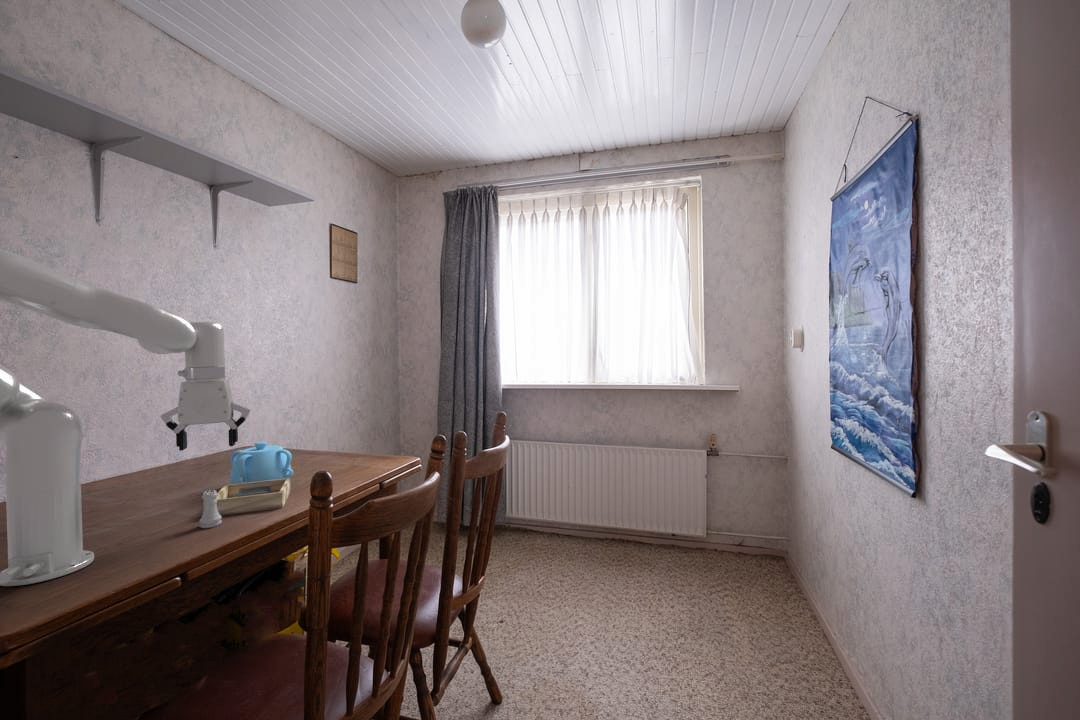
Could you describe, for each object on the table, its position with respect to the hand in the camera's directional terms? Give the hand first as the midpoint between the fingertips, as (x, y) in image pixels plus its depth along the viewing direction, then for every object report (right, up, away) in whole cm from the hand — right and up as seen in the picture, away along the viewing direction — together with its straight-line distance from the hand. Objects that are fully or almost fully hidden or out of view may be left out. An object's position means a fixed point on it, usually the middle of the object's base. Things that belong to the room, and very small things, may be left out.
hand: (208, 447), depth 108 cm
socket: (+1, -18, +16) cm, 24 cm away
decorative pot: (-7, -19, +33) cm, 39 cm away
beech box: (+1, -18, +16) cm, 24 cm away
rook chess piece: (+1, -19, 0) cm, 19 cm away
